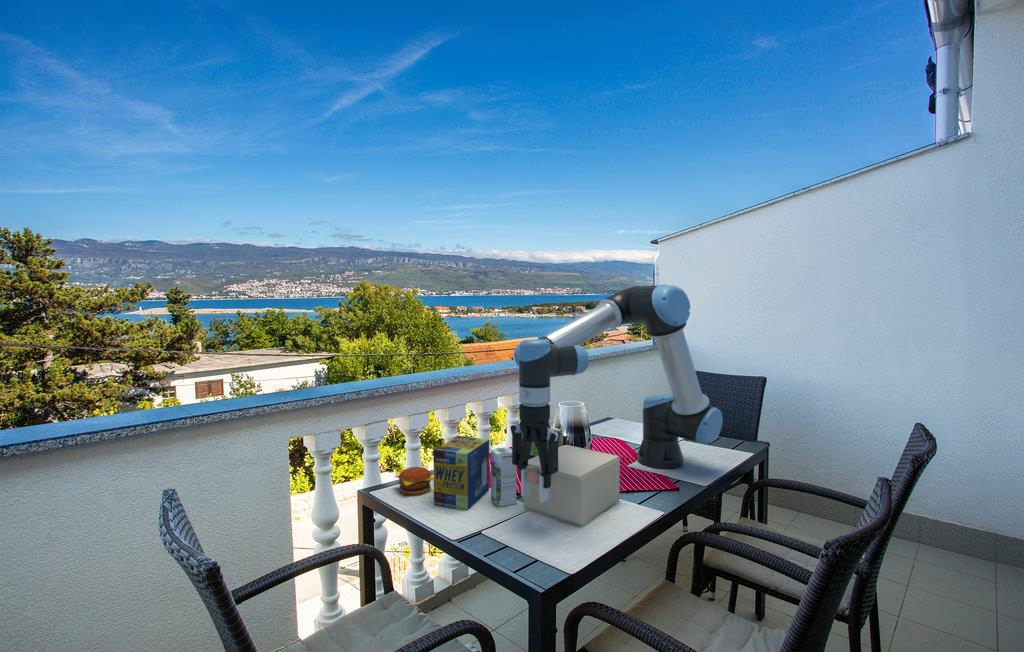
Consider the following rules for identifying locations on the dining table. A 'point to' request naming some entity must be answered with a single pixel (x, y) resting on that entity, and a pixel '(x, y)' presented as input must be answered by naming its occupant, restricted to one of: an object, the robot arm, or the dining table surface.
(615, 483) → the carton
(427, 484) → the hamburger
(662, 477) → the dining table surface
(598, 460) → the lid
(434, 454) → the protein box
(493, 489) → the syrup box
